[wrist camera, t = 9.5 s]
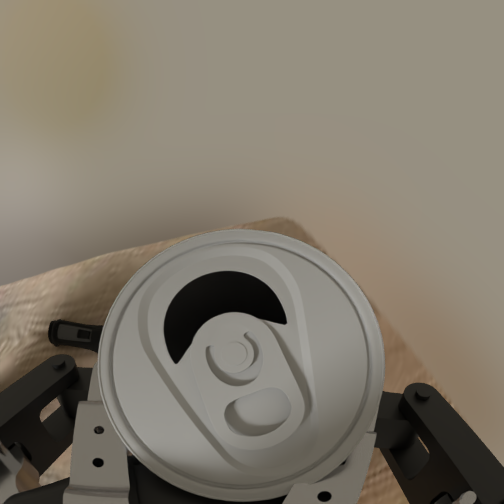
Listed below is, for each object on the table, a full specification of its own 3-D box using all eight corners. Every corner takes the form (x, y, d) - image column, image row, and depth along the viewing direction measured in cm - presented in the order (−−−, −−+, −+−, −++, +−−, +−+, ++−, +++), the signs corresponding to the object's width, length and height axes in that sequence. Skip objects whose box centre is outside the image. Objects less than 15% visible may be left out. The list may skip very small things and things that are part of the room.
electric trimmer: (153, 363, 27) (142, 358, 25) (53, 346, 28) (39, 340, 25) (155, 332, 29) (146, 324, 27) (58, 321, 29) (45, 313, 27)
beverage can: (280, 324, 17) (310, 182, 7) (321, 414, 14) (448, 418, 3) (185, 358, 16) (69, 264, 6) (221, 452, 13) (140, 538, 2)
